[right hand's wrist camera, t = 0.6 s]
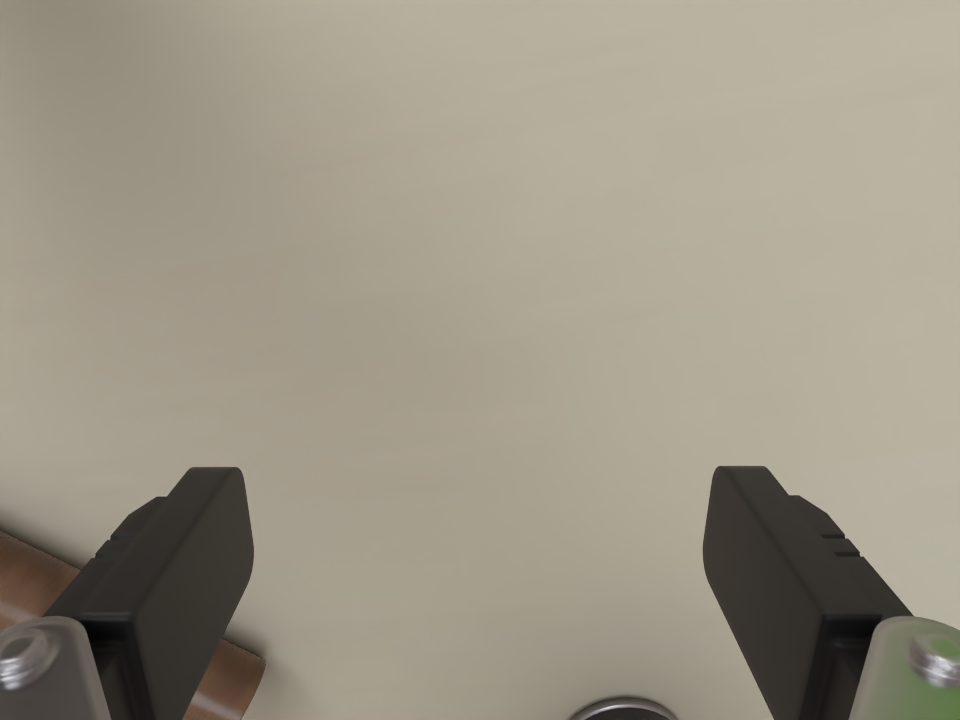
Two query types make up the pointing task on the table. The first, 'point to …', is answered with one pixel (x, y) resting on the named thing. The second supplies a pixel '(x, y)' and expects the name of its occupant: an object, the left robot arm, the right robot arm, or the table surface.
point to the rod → (42, 578)
